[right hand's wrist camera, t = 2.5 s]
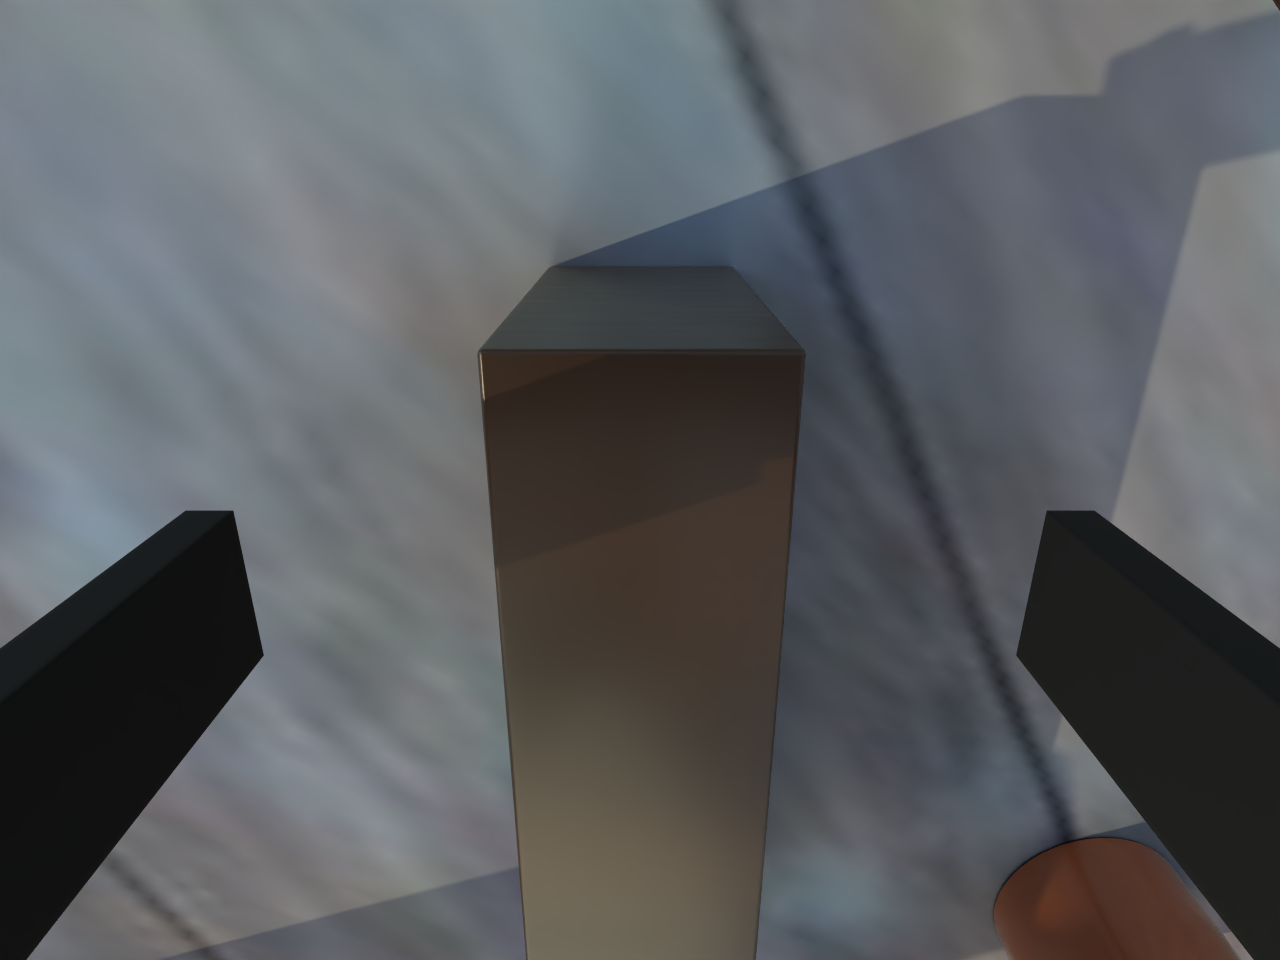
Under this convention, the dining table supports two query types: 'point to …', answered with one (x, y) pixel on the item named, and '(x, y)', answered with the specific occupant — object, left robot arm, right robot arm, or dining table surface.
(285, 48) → the dining table surface
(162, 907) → the dining table surface
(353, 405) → the dining table surface
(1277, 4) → the fork
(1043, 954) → the orange clay cylinder
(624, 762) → the walnut box
